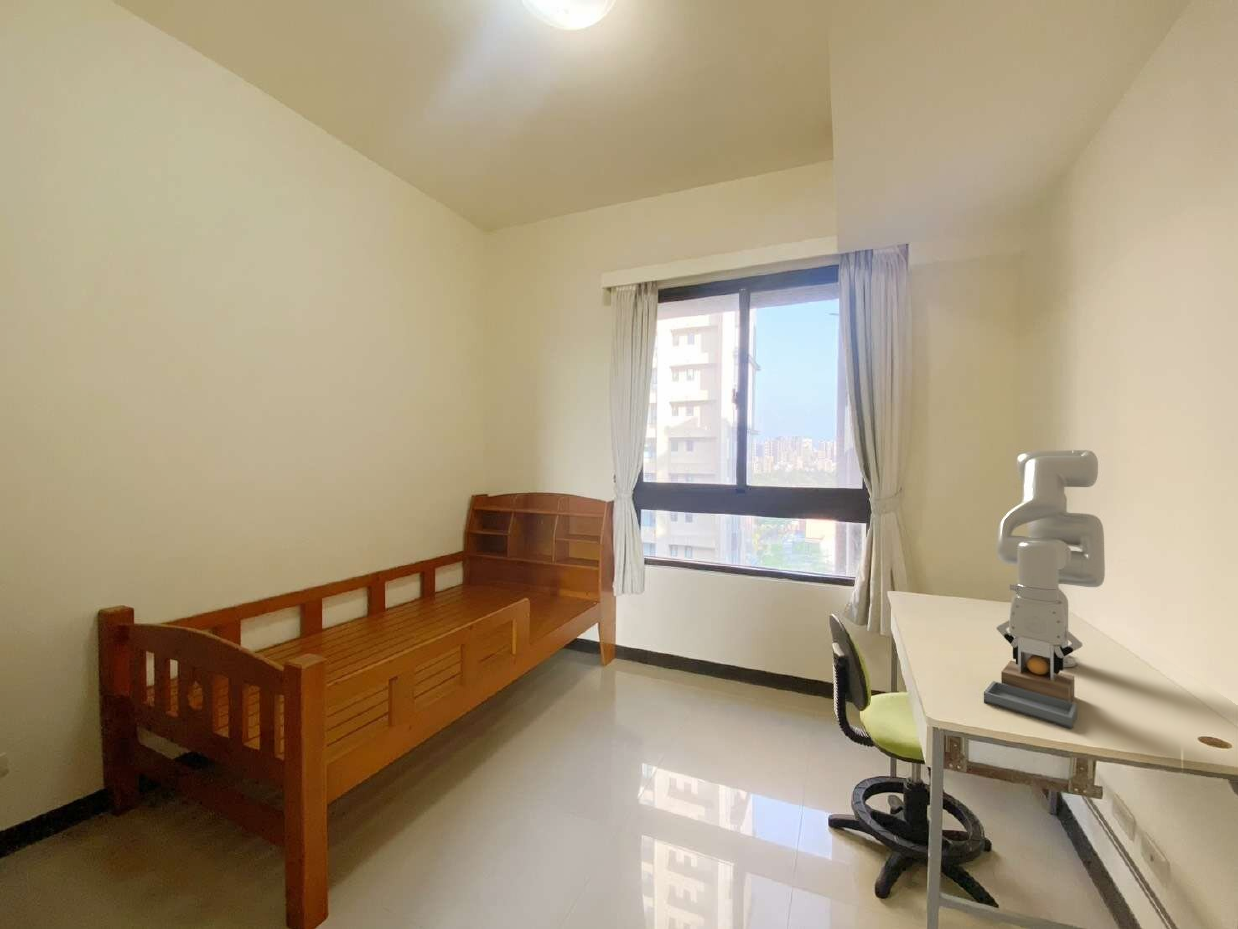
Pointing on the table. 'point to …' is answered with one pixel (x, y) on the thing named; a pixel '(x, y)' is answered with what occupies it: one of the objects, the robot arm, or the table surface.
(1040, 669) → the ball
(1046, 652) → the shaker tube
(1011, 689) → the tray
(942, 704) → the table surface
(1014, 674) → the stand
